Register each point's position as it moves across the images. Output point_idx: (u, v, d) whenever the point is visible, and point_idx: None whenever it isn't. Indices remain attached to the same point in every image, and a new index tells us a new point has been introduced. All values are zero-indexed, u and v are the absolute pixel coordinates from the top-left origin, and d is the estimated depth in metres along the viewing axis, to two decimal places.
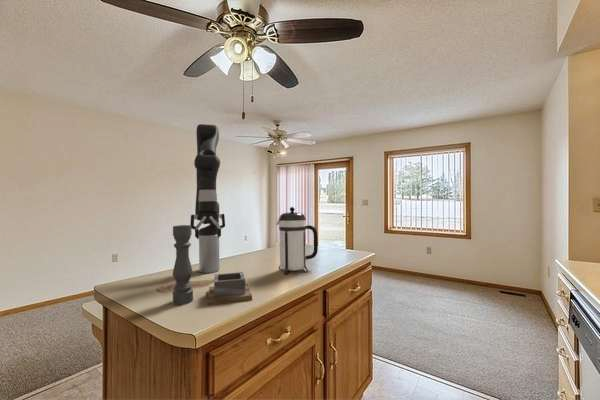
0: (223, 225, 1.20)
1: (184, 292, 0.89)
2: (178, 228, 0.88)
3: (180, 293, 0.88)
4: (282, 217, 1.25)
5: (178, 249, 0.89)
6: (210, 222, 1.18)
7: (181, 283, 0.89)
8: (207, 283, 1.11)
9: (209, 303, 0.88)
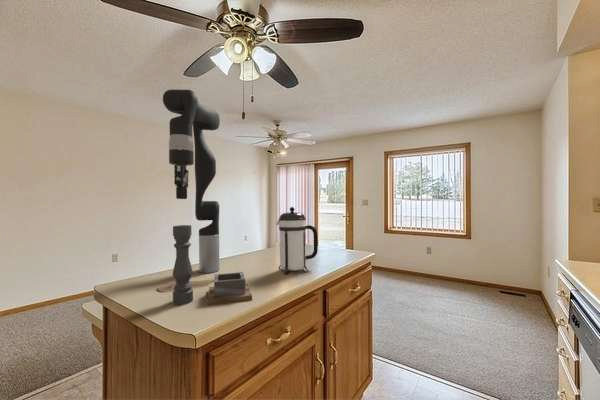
0: (187, 184, 0.98)
1: (184, 292, 0.89)
2: (178, 228, 0.88)
3: (180, 293, 0.88)
4: (282, 217, 1.25)
5: (178, 249, 0.89)
6: (185, 178, 0.93)
7: (181, 283, 0.89)
8: (207, 283, 1.11)
9: (209, 303, 0.88)
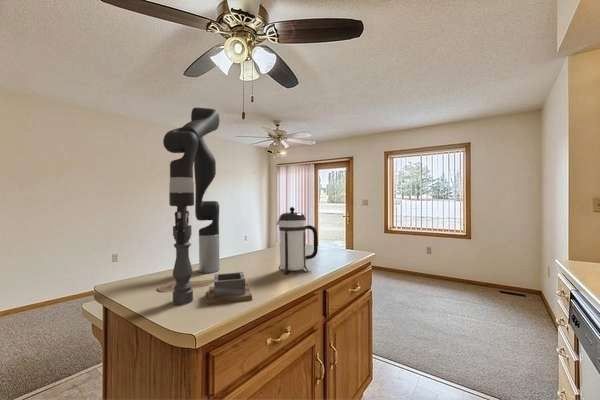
0: None
1: (184, 292, 0.89)
2: None
3: (180, 293, 0.88)
4: (282, 217, 1.25)
5: (178, 249, 0.89)
6: None
7: (181, 283, 0.89)
8: (207, 283, 1.11)
9: (209, 303, 0.88)
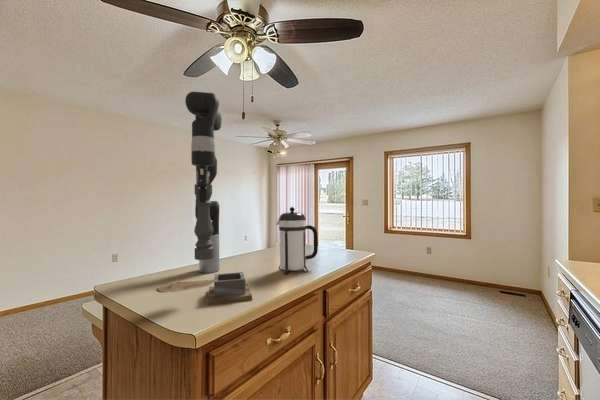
0: None
1: (206, 248, 0.92)
2: None
3: (202, 249, 0.91)
4: (282, 217, 1.25)
5: (200, 206, 0.92)
6: None
7: (203, 239, 0.92)
8: (207, 283, 1.11)
9: (209, 303, 0.88)
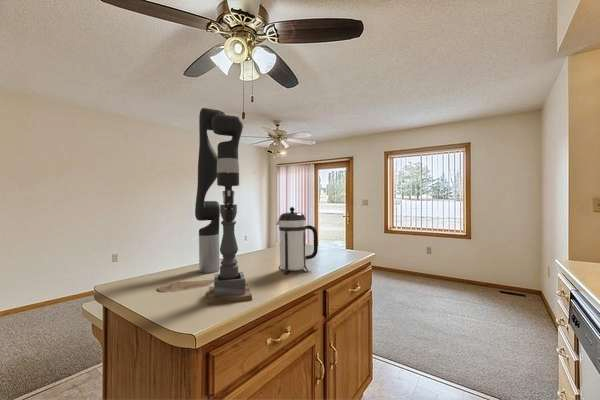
0: None
1: (231, 266, 0.94)
2: None
3: (228, 268, 0.94)
4: (282, 217, 1.25)
5: (225, 226, 0.95)
6: None
7: (228, 258, 0.95)
8: (207, 283, 1.11)
9: (209, 303, 0.88)
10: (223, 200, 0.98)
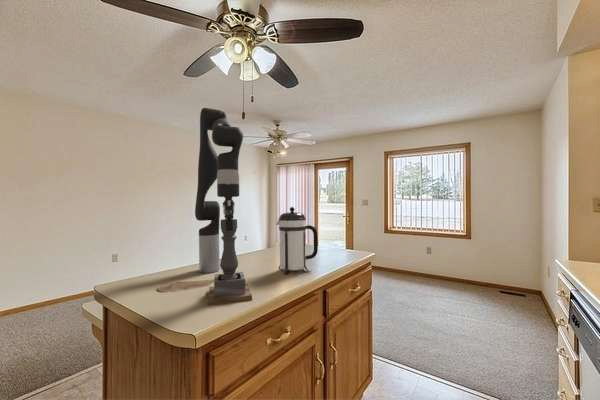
0: None
1: None
2: None
3: None
4: (282, 217, 1.25)
5: (226, 241, 0.95)
6: None
7: (228, 273, 0.95)
8: (207, 283, 1.11)
9: (209, 303, 0.88)
10: (223, 210, 0.98)
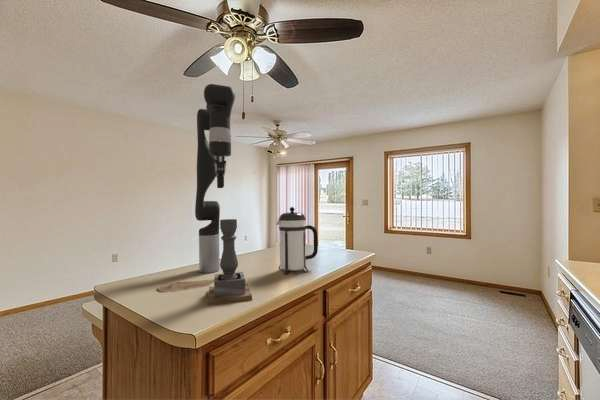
0: None
1: None
2: (226, 221, 0.94)
3: None
4: (282, 217, 1.25)
5: (225, 241, 0.95)
6: None
7: (228, 273, 0.95)
8: (207, 283, 1.11)
9: (209, 303, 0.88)
10: None
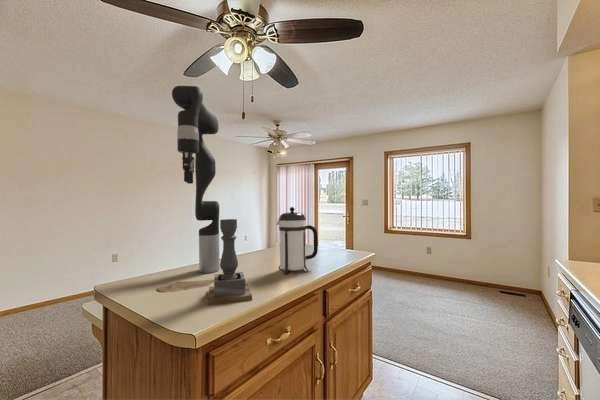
0: (193, 170, 1.10)
1: None
2: (226, 221, 0.94)
3: None
4: (282, 217, 1.25)
5: (226, 241, 0.95)
6: None
7: (228, 273, 0.95)
8: (207, 283, 1.11)
9: (209, 303, 0.88)
10: None
